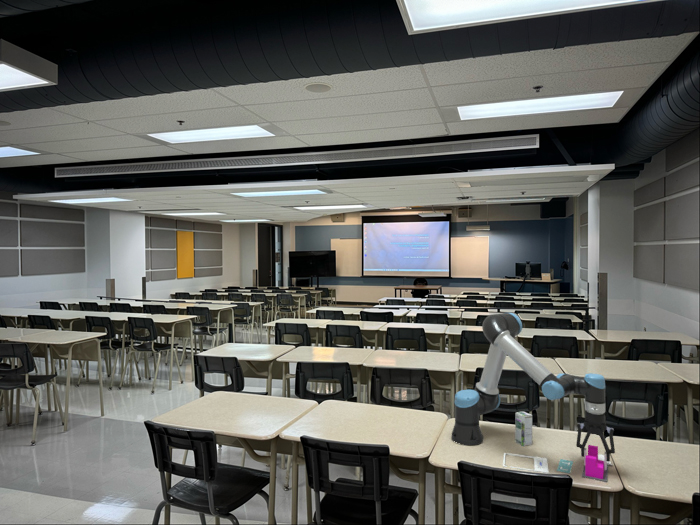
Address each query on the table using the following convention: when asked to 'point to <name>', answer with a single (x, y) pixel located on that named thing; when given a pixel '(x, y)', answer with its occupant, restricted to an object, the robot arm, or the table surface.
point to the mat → (597, 478)
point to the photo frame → (539, 463)
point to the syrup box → (523, 428)
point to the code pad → (565, 466)
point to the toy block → (593, 463)
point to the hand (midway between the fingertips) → (595, 466)
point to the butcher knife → (601, 457)
